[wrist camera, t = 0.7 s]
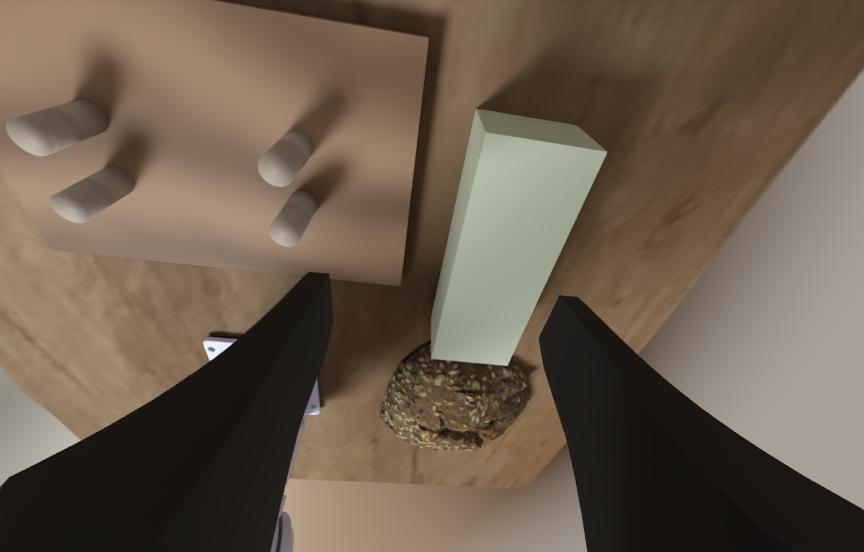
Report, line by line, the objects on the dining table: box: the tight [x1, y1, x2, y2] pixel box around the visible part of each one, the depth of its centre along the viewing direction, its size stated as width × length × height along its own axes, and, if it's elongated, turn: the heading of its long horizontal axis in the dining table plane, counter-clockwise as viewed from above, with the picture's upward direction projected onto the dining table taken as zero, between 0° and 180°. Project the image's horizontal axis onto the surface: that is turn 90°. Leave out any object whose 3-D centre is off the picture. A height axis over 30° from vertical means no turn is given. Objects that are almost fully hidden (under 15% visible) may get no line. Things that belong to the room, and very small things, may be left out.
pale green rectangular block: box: [431, 109, 607, 366], centre depth 19 cm, size 14×5×4 cm, turn 171°
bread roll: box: [380, 344, 529, 451], centre depth 29 cm, size 13×12×5 cm
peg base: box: [0, 0, 429, 286], centre depth 16 cm, size 13×20×4 cm, turn 82°
